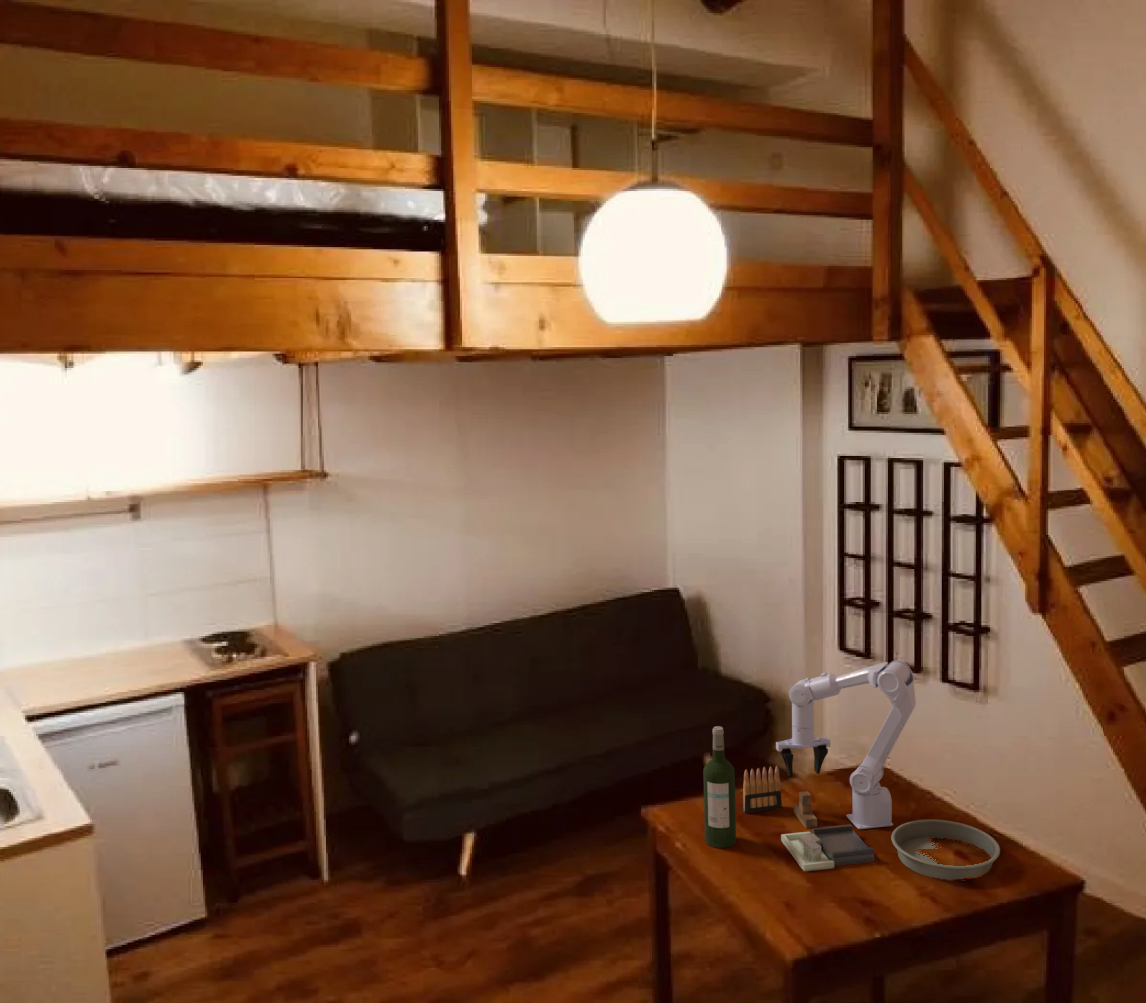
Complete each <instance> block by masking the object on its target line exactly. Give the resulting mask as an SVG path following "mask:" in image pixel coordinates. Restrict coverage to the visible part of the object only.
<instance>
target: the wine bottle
mask: <svg viewBox="0 0 1146 1003" xmlns="http://www.w3.org/2000/svg"><path fill="white" fill-rule="evenodd" d="M724 734H725V733H724V728H723V726H719V725H718V726H714V727H713V728H712V757H711V759H710V760H709V761H707V763H706V764H705V765H704V767H703V773H702V774H703V775H702V776H703V805H704V806H703V809H704V810H703V811H704V814H703V816H704V841H705V843H706V844H707V845H708V846H710V847H713V848H718V849H725V848H729V847H732V846H735V844H736V842H737V829H736V828H737V823H736V822H737V820H736V819H737V818H736V776H735V775H736V774H735V772H736V771H735V768H734V766H733V765H732V764H731V762H730V761H728V759H726V755H725V744H724V743H725V742H724V741H725V739H724V738H725V737H724Z"/></svg>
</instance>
